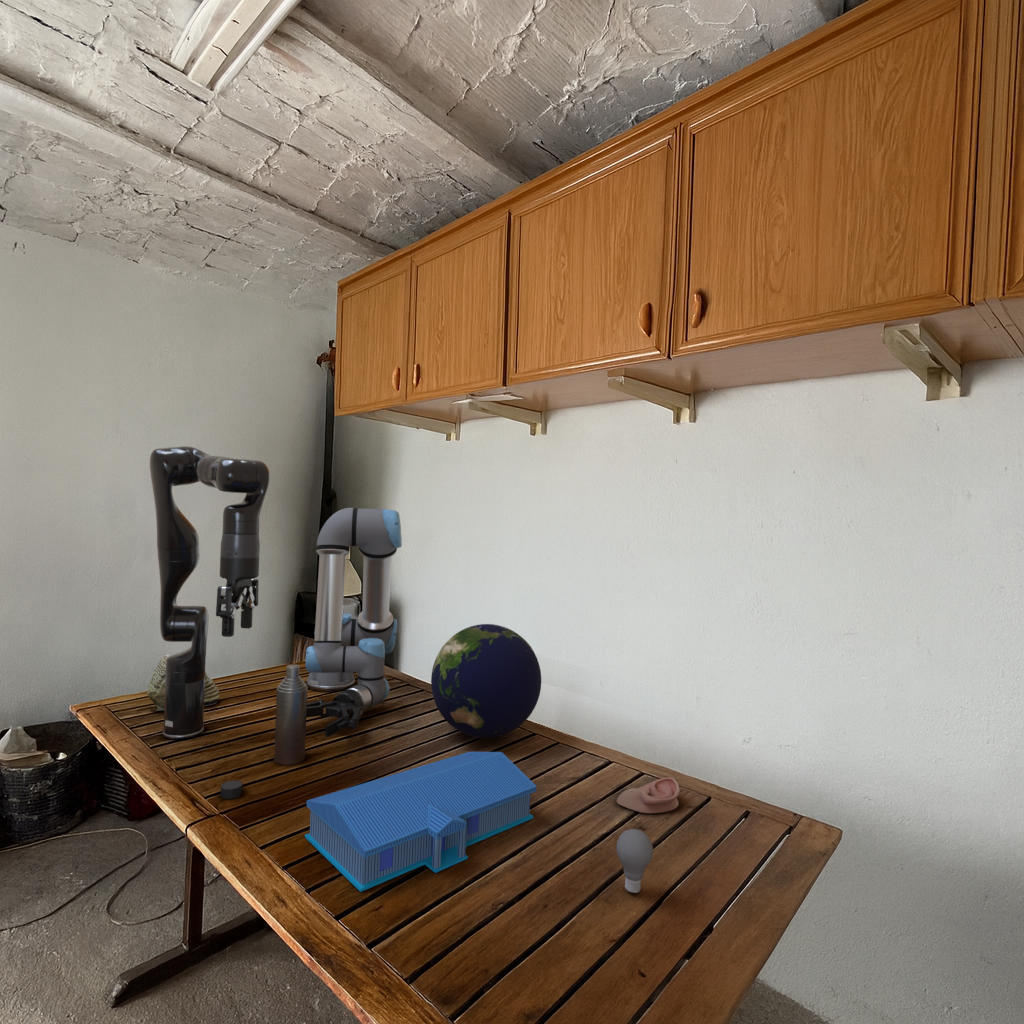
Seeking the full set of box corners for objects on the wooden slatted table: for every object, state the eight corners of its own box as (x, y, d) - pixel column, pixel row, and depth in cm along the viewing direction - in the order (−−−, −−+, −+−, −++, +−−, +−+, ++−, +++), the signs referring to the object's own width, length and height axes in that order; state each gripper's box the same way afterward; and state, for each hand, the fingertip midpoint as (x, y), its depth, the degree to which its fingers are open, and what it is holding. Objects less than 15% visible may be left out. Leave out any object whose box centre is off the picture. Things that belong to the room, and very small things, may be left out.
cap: (242, 788, 136) (242, 779, 136) (242, 797, 132) (243, 787, 132) (220, 791, 134) (220, 782, 134) (220, 800, 130) (220, 790, 130)
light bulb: (610, 879, 108) (613, 822, 108) (644, 879, 109) (647, 822, 109) (619, 902, 102) (622, 840, 102) (655, 901, 103) (658, 840, 103)
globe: (407, 742, 164) (412, 628, 164) (459, 709, 192) (464, 611, 192) (514, 765, 153) (519, 642, 153) (553, 726, 181) (558, 622, 180)
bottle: (288, 767, 147) (291, 671, 147) (267, 760, 151) (271, 666, 150) (311, 757, 153) (314, 665, 153) (290, 750, 157) (294, 660, 156)
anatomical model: (616, 790, 133) (618, 768, 145) (615, 809, 133) (618, 785, 145) (681, 799, 131) (678, 776, 142) (680, 818, 131) (677, 793, 142)
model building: (370, 901, 100) (373, 839, 100) (303, 836, 118) (305, 782, 118) (545, 824, 126) (547, 774, 126) (468, 780, 144) (470, 736, 144)
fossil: (144, 707, 182) (145, 655, 182) (212, 696, 194) (213, 647, 194) (151, 716, 175) (153, 662, 175) (221, 703, 188) (223, 653, 188)
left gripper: (242, 558, 125) (239, 640, 125) (271, 552, 139) (268, 626, 140) (205, 557, 125) (202, 638, 125) (237, 551, 139) (235, 624, 140)
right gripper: (390, 722, 173) (346, 750, 153) (313, 709, 181) (261, 734, 161) (391, 695, 173) (347, 719, 152) (314, 683, 181) (262, 704, 161)
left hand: (237, 632), depth 133 cm, fingers open, 8 cm apart
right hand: (303, 727), depth 157 cm, fingers open, 13 cm apart
